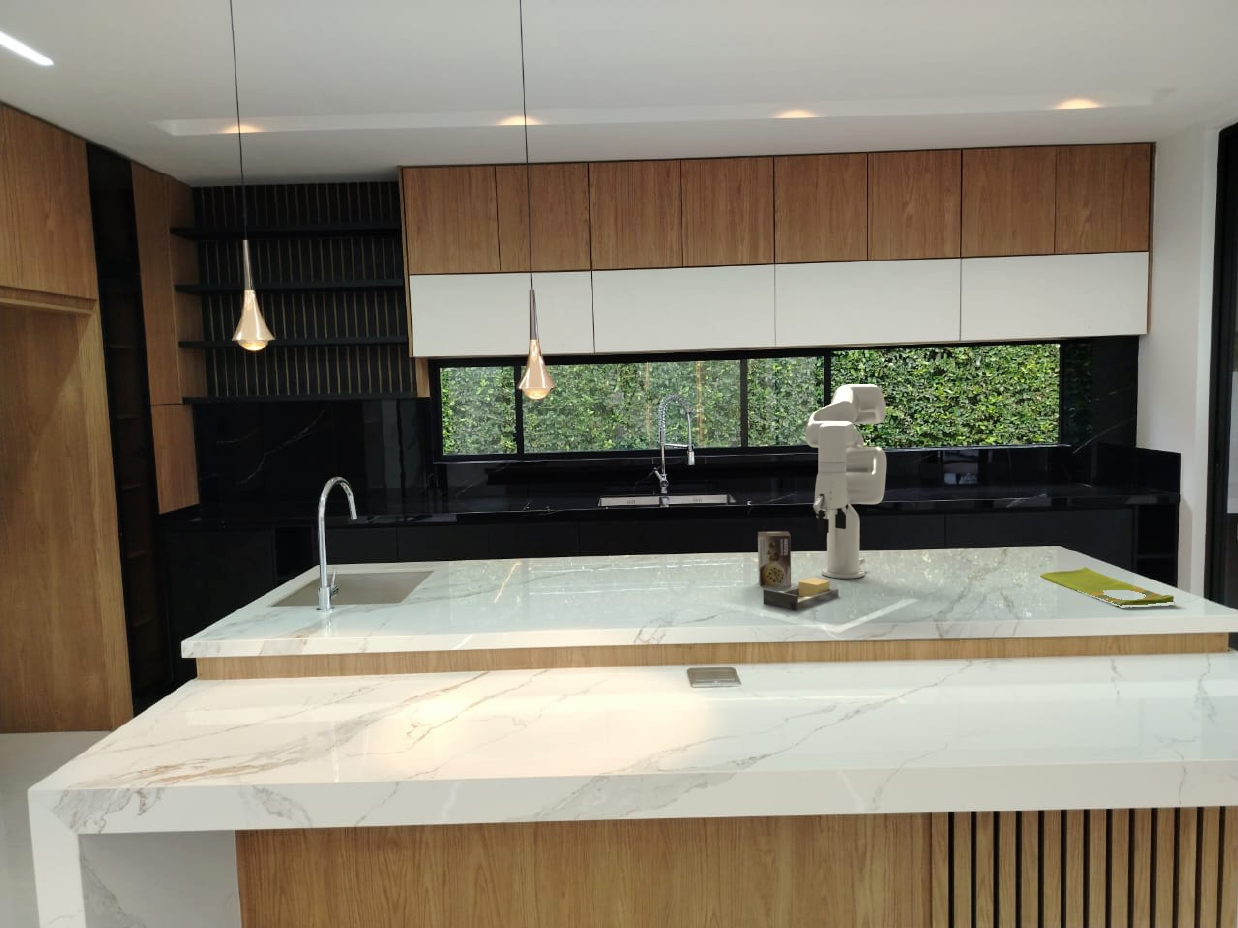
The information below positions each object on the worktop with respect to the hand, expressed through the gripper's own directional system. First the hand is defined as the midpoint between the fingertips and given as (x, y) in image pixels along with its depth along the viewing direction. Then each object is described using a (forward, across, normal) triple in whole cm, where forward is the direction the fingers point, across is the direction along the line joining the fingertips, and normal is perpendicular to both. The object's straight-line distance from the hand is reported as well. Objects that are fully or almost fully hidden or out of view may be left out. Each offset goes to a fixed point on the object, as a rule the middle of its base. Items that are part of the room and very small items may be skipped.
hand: (832, 530), depth 240 cm
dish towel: (+19, -52, +54) cm, 77 cm away
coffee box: (+18, +5, -16) cm, 25 cm away
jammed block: (+17, +9, 0) cm, 19 cm away
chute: (+18, +15, 0) cm, 23 cm away
